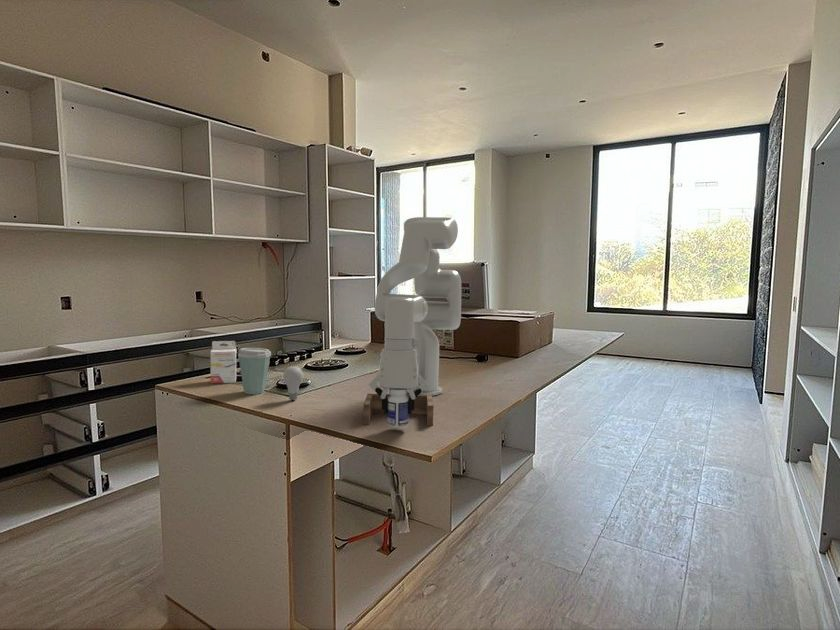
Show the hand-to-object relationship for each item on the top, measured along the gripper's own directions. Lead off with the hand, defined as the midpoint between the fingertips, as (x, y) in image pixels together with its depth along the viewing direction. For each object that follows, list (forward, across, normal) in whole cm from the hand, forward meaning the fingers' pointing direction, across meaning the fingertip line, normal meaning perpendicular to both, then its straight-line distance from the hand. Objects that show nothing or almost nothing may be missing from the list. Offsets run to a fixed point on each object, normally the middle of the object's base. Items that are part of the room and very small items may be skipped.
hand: (398, 412), depth 125 cm
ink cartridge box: (+5, +65, -50) cm, 82 cm away
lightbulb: (+5, +34, -27) cm, 44 cm away
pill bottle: (+4, 0, 0) cm, 4 cm away
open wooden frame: (+5, 0, -10) cm, 11 cm away
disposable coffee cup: (+5, +49, -36) cm, 61 cm away
